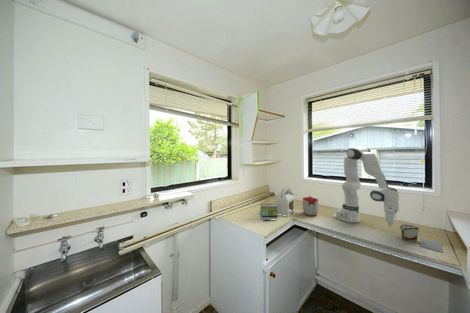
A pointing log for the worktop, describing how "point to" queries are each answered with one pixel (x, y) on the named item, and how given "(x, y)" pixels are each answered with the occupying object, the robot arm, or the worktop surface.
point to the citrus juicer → (310, 206)
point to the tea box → (268, 211)
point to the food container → (409, 232)
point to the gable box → (285, 202)
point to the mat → (431, 245)
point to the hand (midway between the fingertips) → (391, 225)
